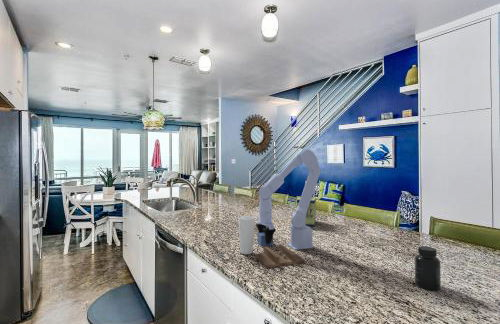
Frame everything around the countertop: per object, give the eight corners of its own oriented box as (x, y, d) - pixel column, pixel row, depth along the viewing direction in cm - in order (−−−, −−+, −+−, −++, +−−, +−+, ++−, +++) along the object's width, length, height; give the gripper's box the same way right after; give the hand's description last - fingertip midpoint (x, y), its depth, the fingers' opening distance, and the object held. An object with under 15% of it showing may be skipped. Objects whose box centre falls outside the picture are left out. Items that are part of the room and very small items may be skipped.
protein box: (296, 225, 158) (296, 199, 158) (299, 220, 173) (299, 196, 173) (314, 227, 155) (314, 200, 155) (315, 221, 170) (316, 196, 170)
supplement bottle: (430, 280, 88) (430, 244, 88) (445, 291, 81) (446, 252, 81) (409, 281, 88) (410, 244, 88) (423, 291, 81) (424, 252, 81)
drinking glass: (240, 256, 109) (240, 219, 109) (236, 250, 116) (237, 216, 115) (256, 254, 111) (256, 218, 111) (252, 249, 117) (252, 215, 117)
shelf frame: (289, 251, 115) (289, 243, 114) (304, 262, 103) (304, 253, 103) (254, 256, 109) (254, 247, 109) (266, 267, 98) (266, 258, 98)
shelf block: (269, 242, 128) (269, 231, 128) (273, 245, 124) (273, 234, 124) (257, 243, 126) (257, 232, 126) (261, 246, 122) (261, 235, 122)
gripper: (252, 209, 130) (251, 237, 130) (263, 215, 116) (263, 246, 117) (265, 208, 132) (265, 236, 133) (278, 214, 119) (277, 245, 119)
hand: (265, 241), depth 125 cm, fingers open, 7 cm apart
